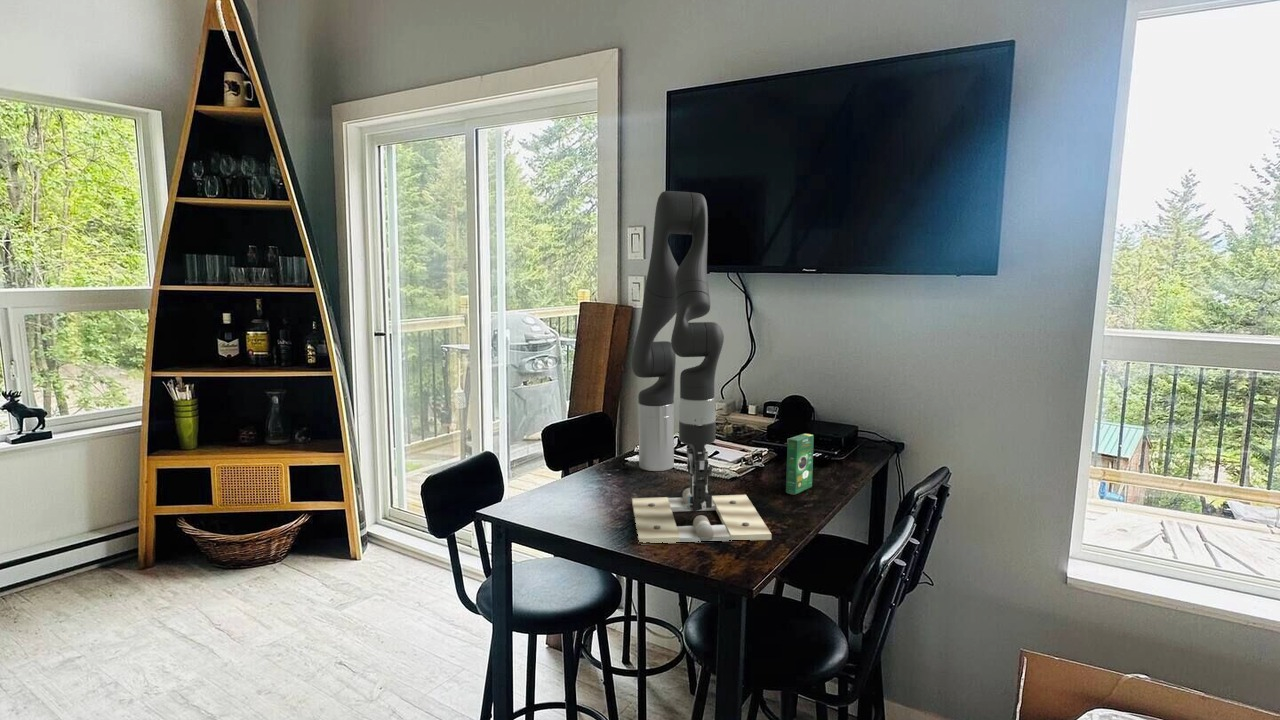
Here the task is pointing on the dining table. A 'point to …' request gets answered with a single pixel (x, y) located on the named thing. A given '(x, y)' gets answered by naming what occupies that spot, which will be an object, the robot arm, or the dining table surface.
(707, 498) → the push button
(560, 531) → the dining table surface
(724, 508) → the hinge plate
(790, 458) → the coffee box
